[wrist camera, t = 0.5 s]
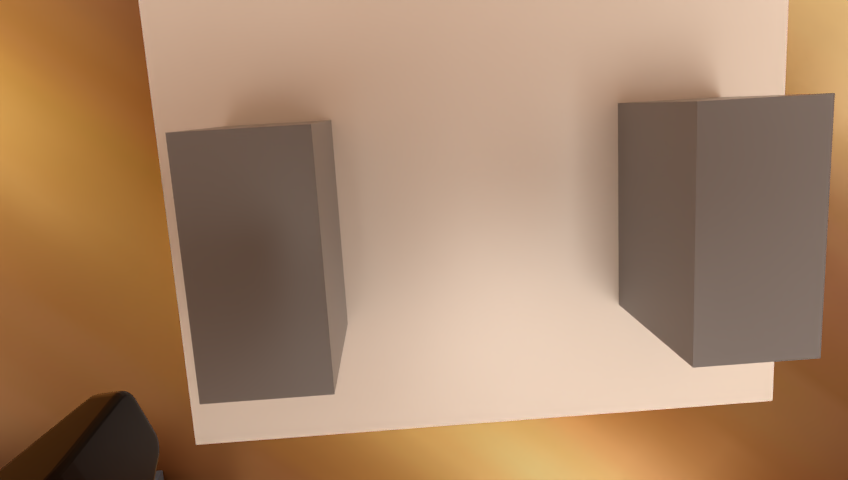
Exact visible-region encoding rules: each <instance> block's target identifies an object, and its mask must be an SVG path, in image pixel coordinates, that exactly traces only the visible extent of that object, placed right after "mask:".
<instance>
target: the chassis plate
mask: <svg viewBox="0 0 848 480" xmlns="http://www.w3.org/2000/svg"><path fill="white" fill-rule="evenodd" d="M138 1H139V9H140V17H141V24H142V32H143V40H144V48H145V55H146V63H147V71H148V78H149V86H150V94H151V102H152V109H153V117H154V125H155V133H156V140H157V148H158V156H159V164H160V171H161V179H162V187H163V194H164V202H165V210H166V218H167V225H168V233H169V241H170V249H171V256H172V264H173V272H174V279H175V287H176V295H177V303H178V310H179V318H180V326H181V334H182V341H183V349H184V357H185V365H186V372H187V380H188V388H189V395H190V403H191V411H192V419H193V426H194V434H195V442H196V445H201V444H214V443H227V442H240V441H253V440H266V439H280V438H293V437H306V436H319V435H332V434H345V433H358V432H371V431H384V430H397V429H410V428H423V427H436V426H449V425H462V424H475V423H488V422H501V421H514V420H527V419H540V418H553V417H566V416H579V415H593V414H606V413H619V412H632V411H645V410H658V409H671V408H684V407H697V406H710V405H723V404H736V403H749V402H762V401H772V399H773V374H774V362H776V361H790V360H803V359H817V358H820V357H821V338H822V320H823V301H824V282H825V264H826V245H827V227H828V208H829V190H830V171H831V152H832V134H833V115H834V97H835V93H826V94H796V95H785V78H786V54H787V29H788V4H789V0H138Z"/></svg>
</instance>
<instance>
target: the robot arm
mask: <svg viewBox="0 0 848 480" xmlns="http://www.w3.org/2000/svg"><path fill="white" fill-rule="evenodd" d="M158 459H159V442H158V438H157V435H156V433H155V431H154V430H153V428H152V426H151V425H150V423H149V421H148V420H147V418H146V416H145V415H144V413H143V411H142V410H141V408H140V406H139V404H138V403H137V401H136V399H135V398H134V397H133V395H131V394H130V393H128V392H125V391H116V392H109V393H102V394H97V395H94V396H92V397H90V398H89V399H87V400H86V401H85V402H84V403H82V404H81V405H80V406H79V407H77V408H76V409H75V410H74V411H72V412H71V413H70V414H69V415H68V416H66V417H65V418H64V419H63V420H61V421H60V422H59V423H58V424H56V425H55V426H54V427H53V428H51V429H50V430H49V431H48V432H47V433H45V434H44V435H43V436H42V437H40V438H39V439H38V440H37V441H35V442H34V443H33V444H32V445H30V446H29V447H28V448H27V449H26V450H24V451H23V452H22V453H21V454H19V455H18V456H17V457H16V458H14V459H13V460H12V461H11V462H9V463H8V464H7V465H6V466H5V467H3V468H2V469H1V470H0V480H154V479H155V474H156V469H157V464H158Z"/></svg>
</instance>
